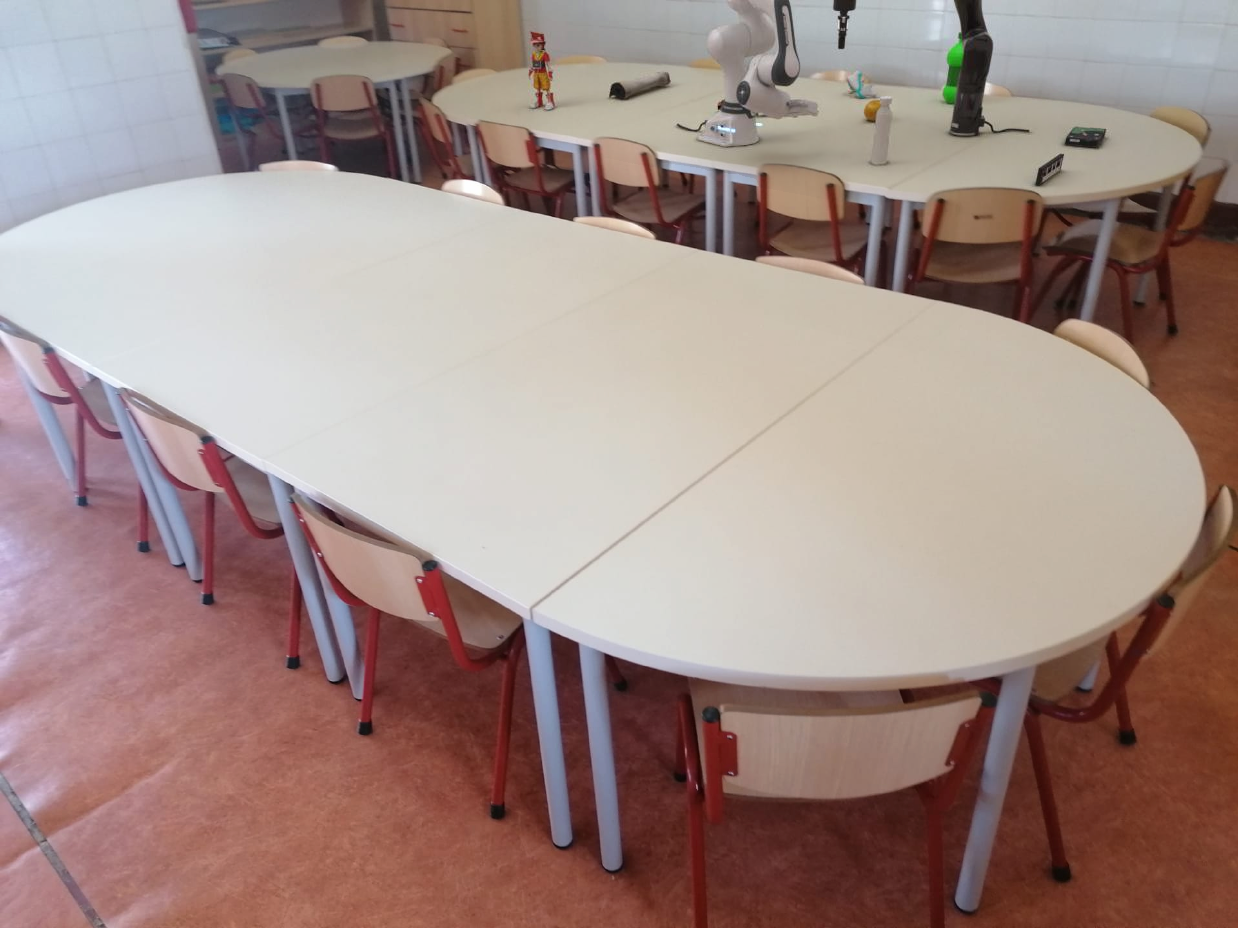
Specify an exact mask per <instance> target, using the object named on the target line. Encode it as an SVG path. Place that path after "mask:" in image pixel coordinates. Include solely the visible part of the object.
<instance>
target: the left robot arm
mask: <svg viewBox="0 0 1238 928" xmlns="http://www.w3.org/2000/svg"><path fill="white" fill-rule="evenodd" d="M726 3H727V5H728V6H729V7H730V8H731V9H732V10H733V11H734V12H736V13H737V14H738V23H731V24H725V25H721V26H719V27H716V28H715V29H712V30H711V31H709V34H708V37H707V40H706V48H707V52H708V54H709V56H710V57H711V58H712V59H713V60H714V61H716V63H717V64H718V65H719V67H720V69H721V72H722V74H723V83H724V87H723V88H724V99H722V100H721V101H719V102H718V103H720V104H719V105H718V104H717V107H718V106H720V105H721V108H720V110H717V112H716V113H715V114H713V115H712V116H711V117H709V118H708V119H706V120H704V121H703V122H701V123H700V125H699V127H698V128H695V129H692V128H690V127H687V126H683V125H681V124H680V123H676V126H677V127H678V128H680V129H682V130H686V131H688V132H689V131H690V132H700V131H701V129H702V126H704V129H703V130H704V131H703V132H702V133H700V134H699V135H698V137H697V140H698V141H700V142H704V143H708V144H712V145H717V146H721V147H725V148H728V147H733V146H734V147H735V146H738V147H739V146H747V145H748V146H749V145H753V144H756V143H758V142H760V141H759V140H760V137H759V134H758V127H757V126H759V127H760V126H763V123H758V122H757V115H758V116H759V117H761V118H770V119H774V120H781V119H783V118H793V119H795V118H798V117H806V116H812V117H818V115H819V110H818V107H819V105H818V103H817V102H816V101H812V100H809V99H805V98H795V99H791V95H790V93H789V92H787V91H785V90H781V89H779V88H777V87H790V86H791V85H793V84H794V83H795V82H796V81H797V79H798V77H799V74H800V71H801V62H800V58H799V55H798V50H797V44H796V37H795V36H796V35H795V27H794V20H793V12H792V5H791V2H790V0H726ZM766 16H768V17H769V18H770V20H771V21H772V23H771V22H770V21H769V20H768V19H767V17H766ZM774 45H775V47H776V51H775V52H770V53H768V52H769V51H771V50H772V49H773V48H774ZM749 57H752V58H751V60H750V61H749V62H748V65H747V67H746V64H745V62H746V61H745V58H749ZM776 86H777V87H776ZM756 113H759V114H756Z"/></svg>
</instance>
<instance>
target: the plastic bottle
mask: <svg viewBox="0 0 1238 928" xmlns="http://www.w3.org/2000/svg"><path fill="white" fill-rule="evenodd" d="M957 39H958V42H957V43H956V44H954V45H953V46H952V47H951V48H950V49H949V50H948V52H947V54H946V63H947V64H948V69H947V70H948V71H947V76H946V77H947V78H946V84H945V85H944V87H943V90H942V97H943V99H944V100H945V101H946V102H947V103H948V104H954V103H955V96H956V90H957V83H958V77H959V73H960V70H961V65H962V59H963V50H962V35H961V31H959V32H958V36H957Z"/></svg>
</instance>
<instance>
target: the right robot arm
mask: <svg viewBox="0 0 1238 928" xmlns="http://www.w3.org/2000/svg"><path fill="white" fill-rule="evenodd" d="M953 4H954V6H955V10H956V11H957V16H958V19H959V24H960V32H961V35H962V50H963V59H962V65H961V70H960V73H959V77H958V83H957V90H956V96H955V103H953V110H952V115H951V124H950V129H949V134H950V135H952V136H956V137H973V136H979V131H980V128H984V127H985V124H986V125H988V126H989V127H990V131H991V133H993V134H998V133H999V134H1000V133H1004V132H1011V131H1012V132H1013V131H1015V132H1025V133H1030V129H1026V128H1025V129H1024V128H1013V127H1011V128H1009V127H1008V128H1004V129H1000V130H995V129H994V127H993V124H992V123H990V122H989V121H987V120H986V118H985V115H983V109H984V107H983V102H984V96H985V90H986V83H987V79H988V76H989V73H990V67H991V62H992V56H993V53H994V40H993V38H992V36H991V35H990V33H989V32H988V27H987V25H986V21H985V18H984V12H983V0H953ZM856 8H857V0H833V3H832V10H833V11H835V12H839V15H837V20H836V21H837V22H836V23H837V31H838V33H837V34H838V35H837V37H838V39H837V44H838V45H837V49H838V50H844V49H845V46H846V37H847V35H848V33H847V31H848V30H849V23H850V17H851V16H850V15H848V13H849V12H851V11H855V10H856Z"/></svg>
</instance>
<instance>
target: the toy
mask: <svg viewBox="0 0 1238 928" xmlns="http://www.w3.org/2000/svg"><path fill="white" fill-rule="evenodd" d="M529 33H530V35H531V36H528V37H527V38H528V39H529V40H528V41H527V43H529V44H530V43H531V44H532V48H533V50H534V51H533V52H532V55H531V58H530V59H531V63H530V66H528V74H527V75H528V76H527V77H528V79H529V80H531V75H532V74H533V84H532V85H533V86H532V87H533V88H534V89H535V90H536V92H534V95H535V97H536V100H535V101H533V102H531V105H530V108H531V109H535V108H538V107H542V106H544V101H543V100H544V99H543V95H544V92H546V94H545V97H546V99H547V103H546V104H545V106H544V110H546V111H549V110H553V109H554V107H555V106H556V105H555V99H554V92H551V91H550V90H551V86H552V84H551V82H552V81H553V80H554V77H553V73H554V71H555V70H554V69H552V68H551V63H550V61H551V59H550V58H551V57H550V54H549V53H548V52H547V50H546V48H545V46H546V44H547V41H545V35H544V33H543V32H542V33H539V32H535V31H529Z"/></svg>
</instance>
